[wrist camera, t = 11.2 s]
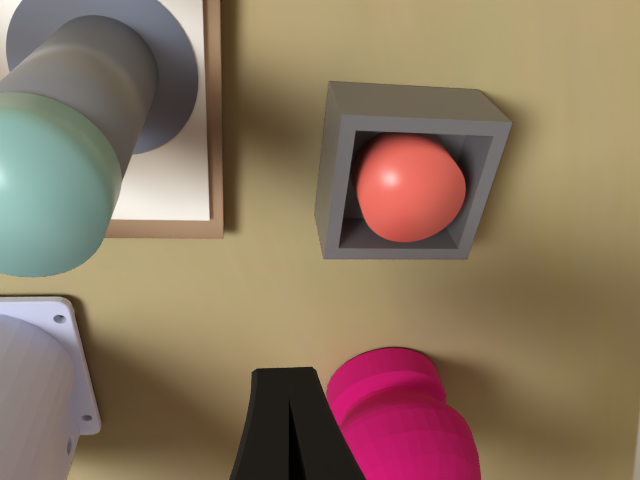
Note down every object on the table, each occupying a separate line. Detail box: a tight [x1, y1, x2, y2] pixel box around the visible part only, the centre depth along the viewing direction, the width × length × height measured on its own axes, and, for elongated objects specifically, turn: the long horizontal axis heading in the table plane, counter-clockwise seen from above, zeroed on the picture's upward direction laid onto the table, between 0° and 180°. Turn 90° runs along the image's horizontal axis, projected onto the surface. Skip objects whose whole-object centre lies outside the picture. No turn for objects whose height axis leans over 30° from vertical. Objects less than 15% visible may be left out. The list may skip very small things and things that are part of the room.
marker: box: [0, 15, 159, 277], centre depth 13 cm, size 3×3×8 cm
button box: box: [314, 81, 513, 259], centre depth 19 cm, size 6×6×3 cm
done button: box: [352, 132, 466, 242], centre depth 18 cm, size 4×4×2 cm
